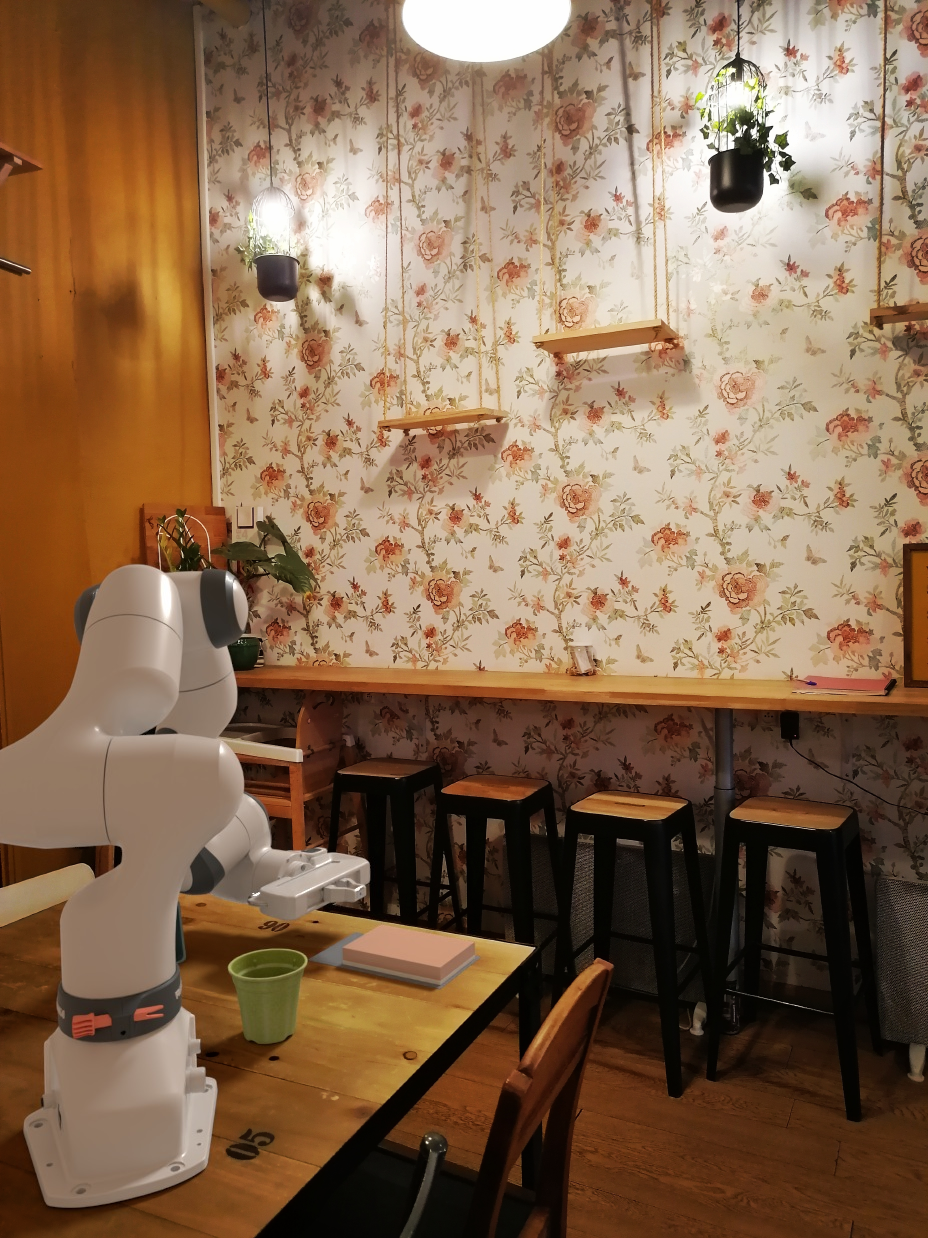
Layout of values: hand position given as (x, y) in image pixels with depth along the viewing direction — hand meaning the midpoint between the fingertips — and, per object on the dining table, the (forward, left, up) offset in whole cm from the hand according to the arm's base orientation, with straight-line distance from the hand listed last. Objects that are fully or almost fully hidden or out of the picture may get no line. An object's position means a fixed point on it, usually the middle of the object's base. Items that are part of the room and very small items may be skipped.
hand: (360, 894), depth 137 cm
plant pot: (-19, +17, -9) cm, 27 cm away
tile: (0, 0, -7) cm, 7 cm away
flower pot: (+13, +33, -6) cm, 36 cm away
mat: (-4, -4, -9) cm, 11 cm away
